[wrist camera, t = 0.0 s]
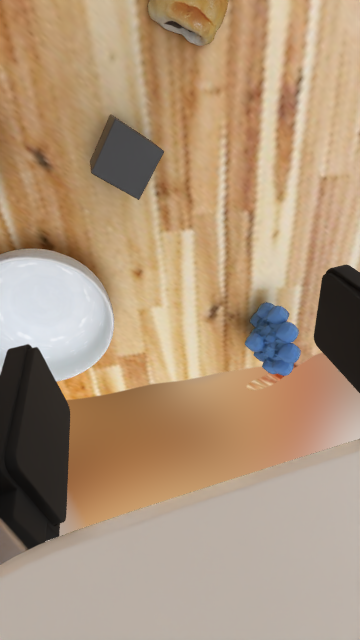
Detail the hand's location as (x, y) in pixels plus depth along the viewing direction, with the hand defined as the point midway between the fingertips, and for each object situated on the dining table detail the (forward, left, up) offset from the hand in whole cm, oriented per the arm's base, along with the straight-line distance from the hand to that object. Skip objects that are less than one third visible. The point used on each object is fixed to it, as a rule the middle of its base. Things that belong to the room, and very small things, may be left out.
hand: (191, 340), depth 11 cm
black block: (-1, 0, -31) cm, 31 cm away
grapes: (+10, +28, -31) cm, 43 cm away
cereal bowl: (+19, -1, -31) cm, 36 cm away
